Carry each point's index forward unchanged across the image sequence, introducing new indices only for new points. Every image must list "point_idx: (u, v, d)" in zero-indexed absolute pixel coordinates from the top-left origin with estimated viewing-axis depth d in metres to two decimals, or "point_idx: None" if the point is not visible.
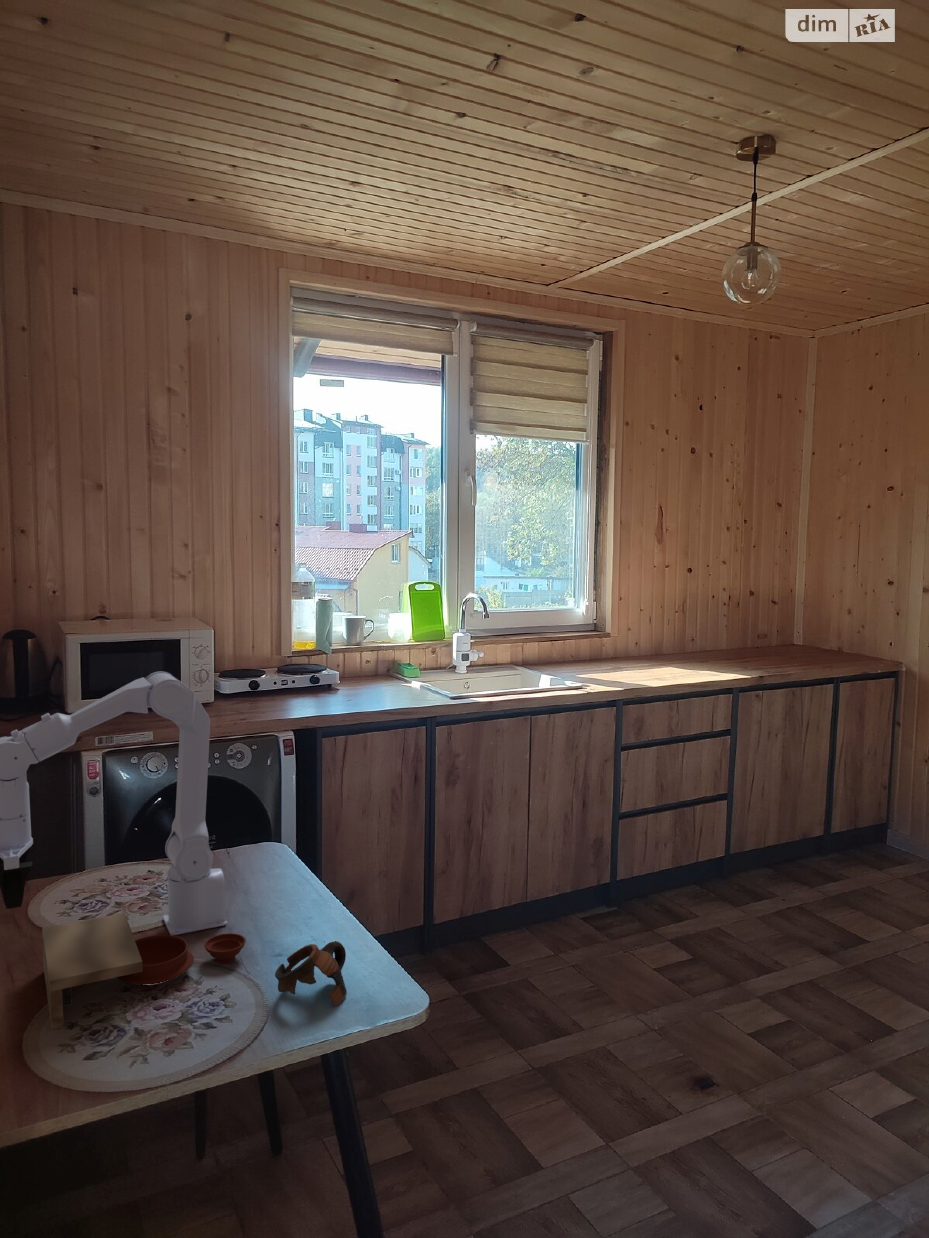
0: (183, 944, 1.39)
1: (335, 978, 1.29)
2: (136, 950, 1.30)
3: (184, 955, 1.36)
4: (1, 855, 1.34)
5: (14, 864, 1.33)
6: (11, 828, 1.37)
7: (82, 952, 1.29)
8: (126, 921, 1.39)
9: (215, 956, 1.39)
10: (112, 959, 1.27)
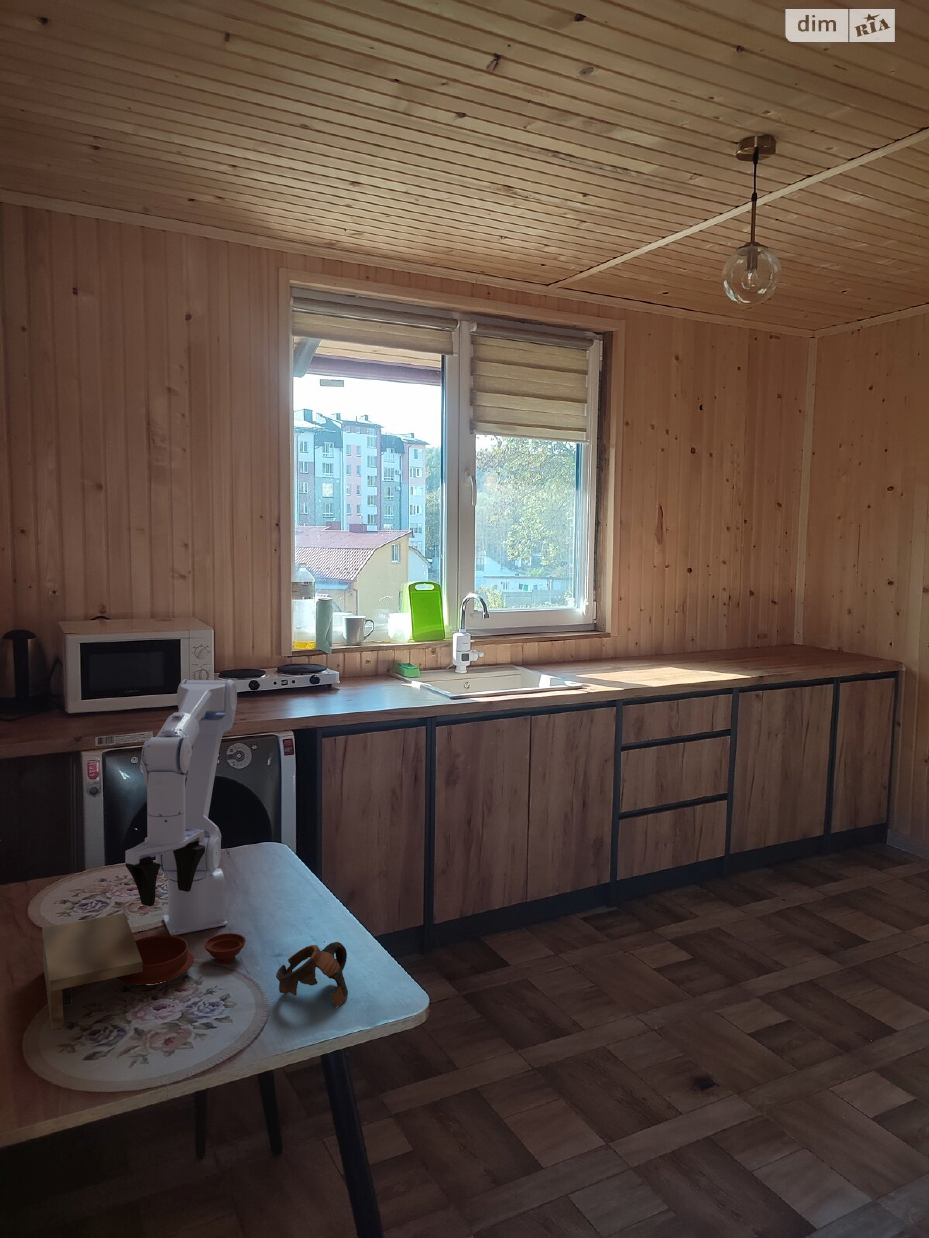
0: (183, 944, 1.39)
1: (336, 979, 1.29)
2: (136, 950, 1.30)
3: (184, 955, 1.36)
4: None
5: (131, 860, 1.34)
6: (153, 825, 1.38)
7: (82, 952, 1.29)
8: (126, 921, 1.39)
9: (215, 956, 1.40)
10: (112, 959, 1.27)
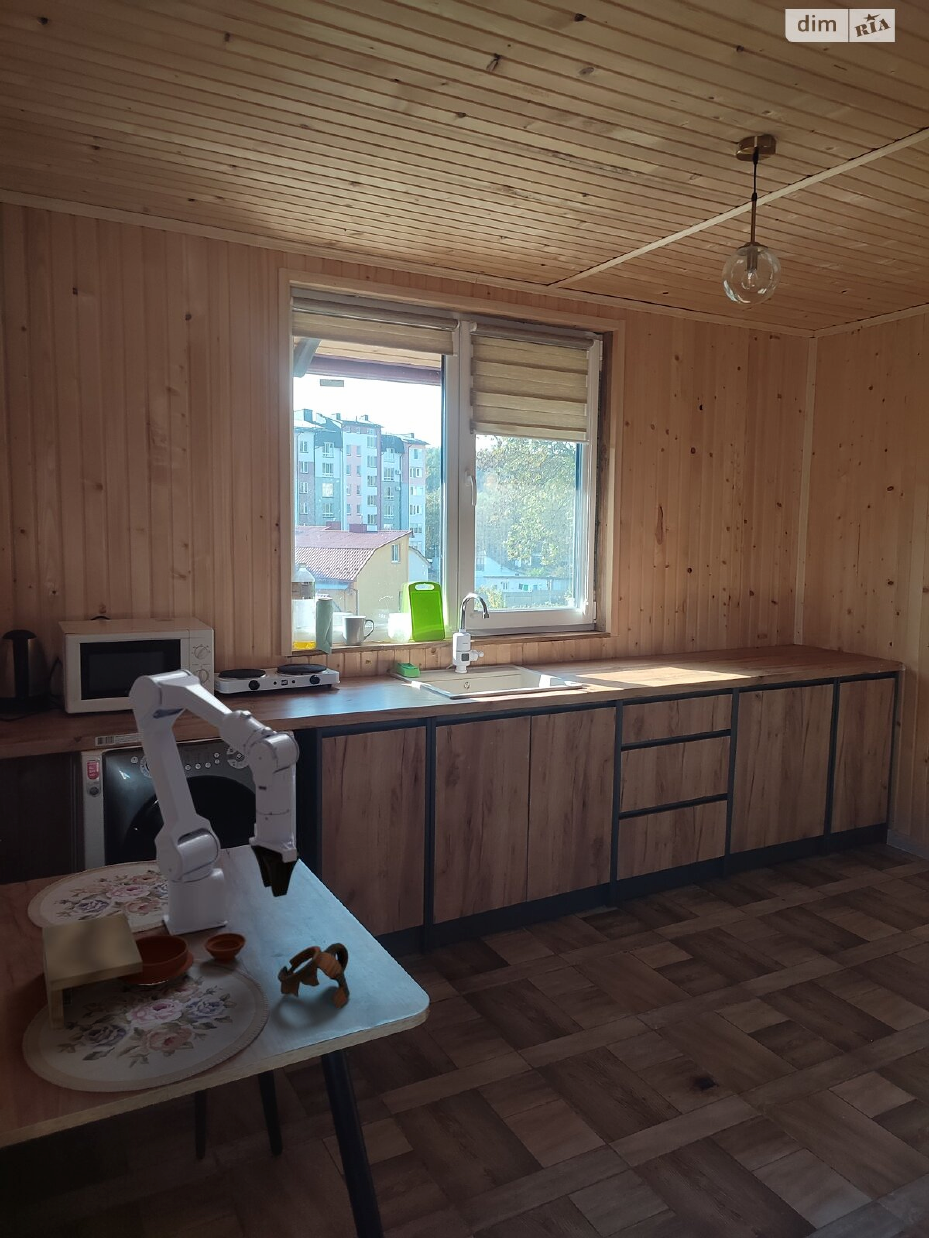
0: (183, 944, 1.39)
1: (338, 980, 1.29)
2: (136, 950, 1.30)
3: (185, 955, 1.36)
4: (278, 848, 1.38)
5: (293, 857, 1.38)
6: (281, 822, 1.41)
7: (82, 952, 1.29)
8: (126, 921, 1.39)
9: (215, 956, 1.40)
10: (112, 959, 1.27)
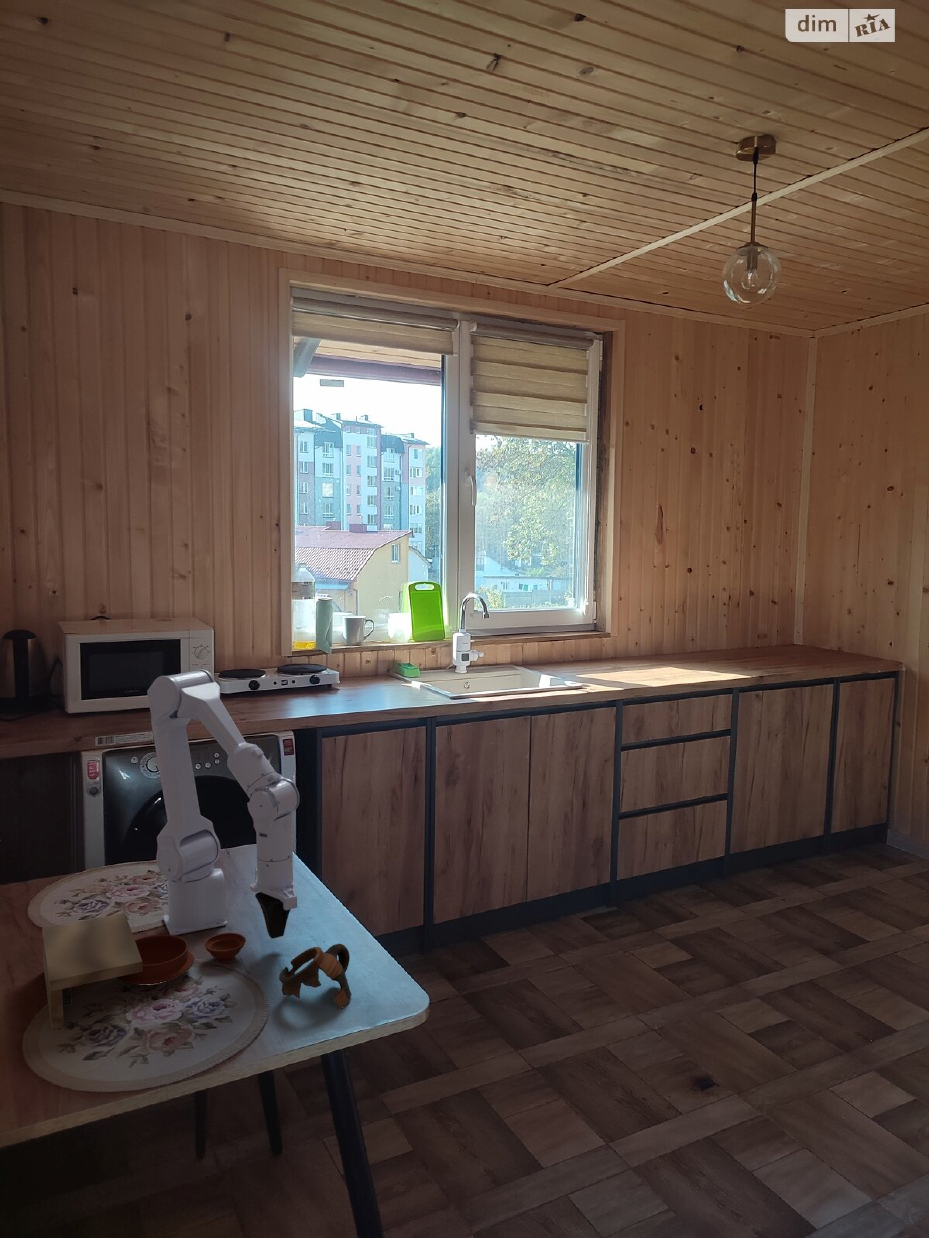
0: (183, 944, 1.39)
1: (340, 981, 1.28)
2: (136, 950, 1.30)
3: (185, 955, 1.36)
4: (278, 896, 1.39)
5: (293, 904, 1.39)
6: (281, 868, 1.42)
7: (82, 952, 1.29)
8: (126, 921, 1.39)
9: (215, 956, 1.40)
10: (112, 959, 1.27)
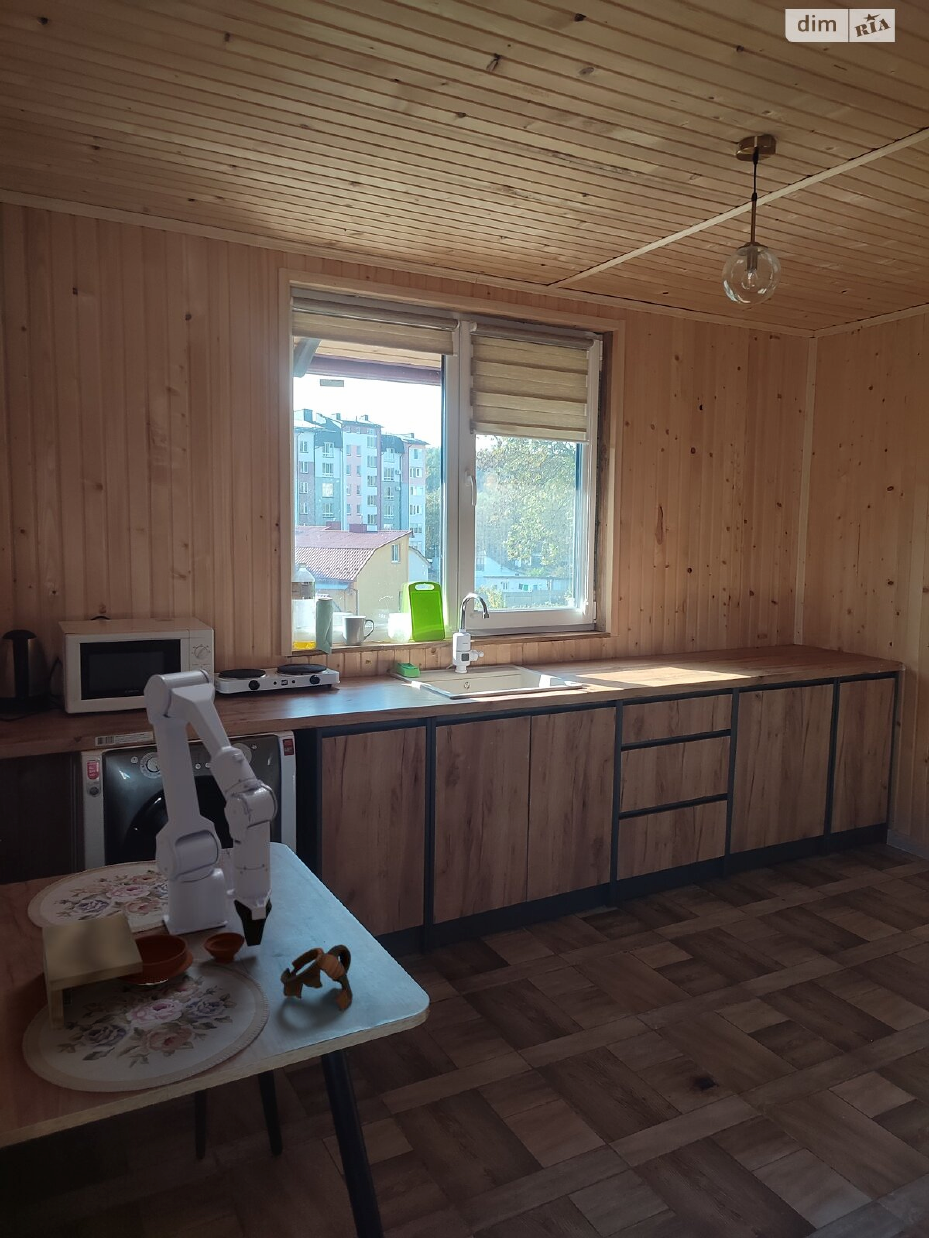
0: (182, 943, 1.39)
1: (341, 982, 1.28)
2: (136, 950, 1.30)
3: (184, 954, 1.36)
4: (248, 904, 1.37)
5: (261, 914, 1.36)
6: (255, 877, 1.40)
7: (82, 952, 1.29)
8: (126, 921, 1.39)
9: (214, 955, 1.40)
10: (112, 959, 1.27)
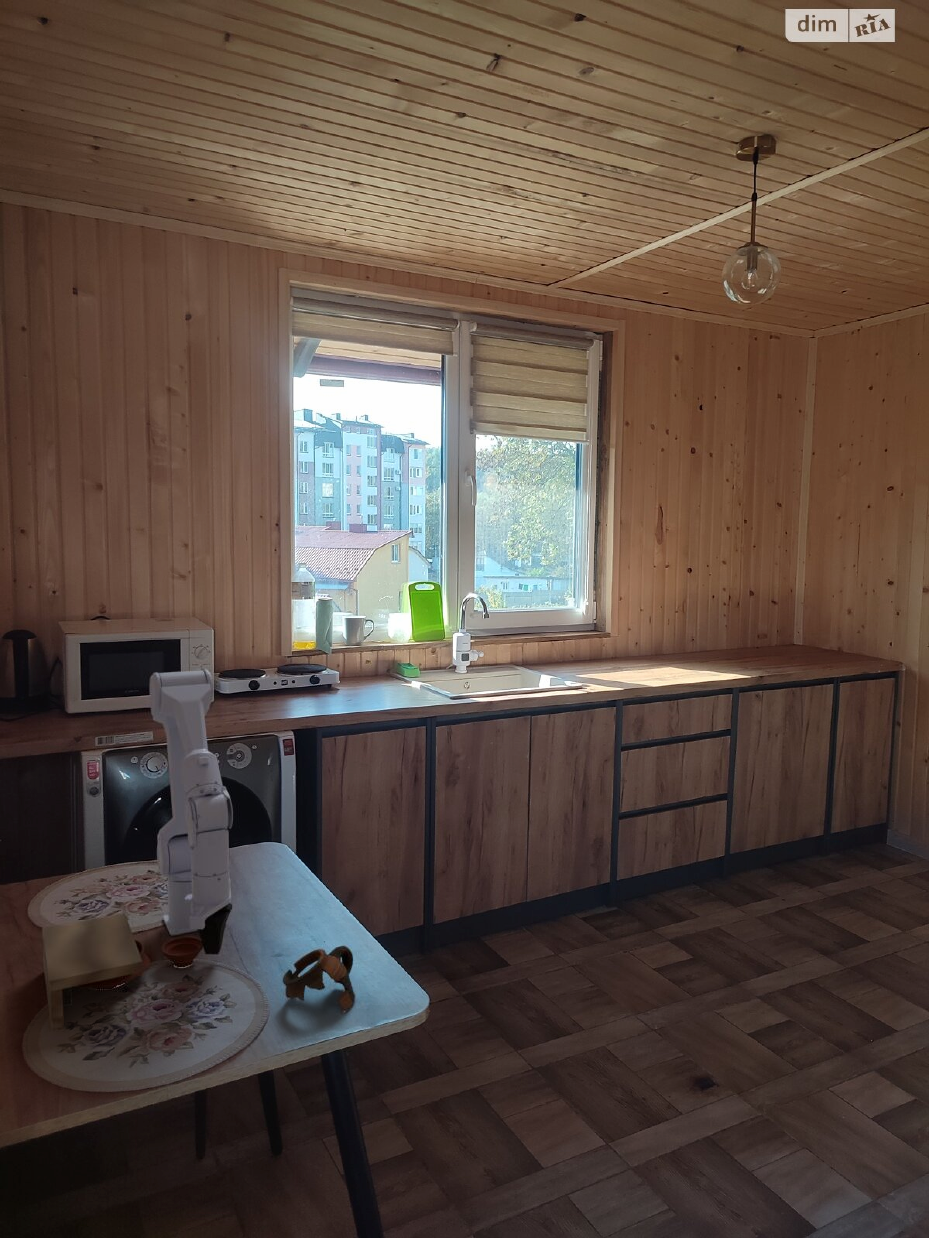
0: (139, 947, 1.37)
1: (344, 983, 1.28)
2: (136, 950, 1.30)
3: None
4: (191, 912, 1.34)
5: (199, 925, 1.33)
6: (205, 885, 1.36)
7: (82, 952, 1.29)
8: (126, 921, 1.39)
9: (172, 960, 1.38)
10: (112, 959, 1.27)
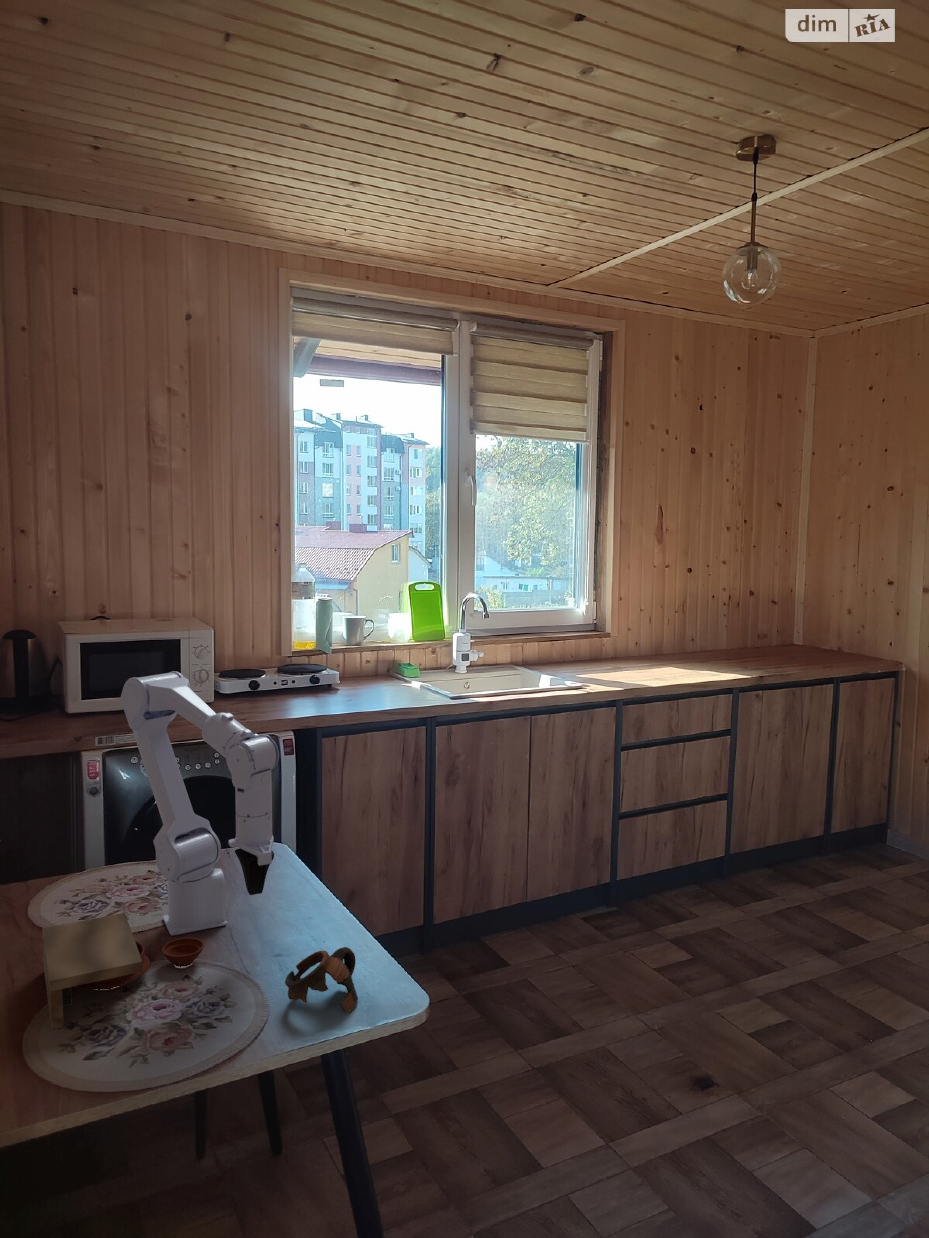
0: (140, 948, 1.37)
1: (347, 985, 1.27)
2: (136, 950, 1.30)
3: None
4: (253, 851, 1.39)
5: (268, 860, 1.38)
6: (259, 825, 1.41)
7: (82, 952, 1.29)
8: (126, 921, 1.39)
9: (172, 961, 1.38)
10: (112, 959, 1.27)
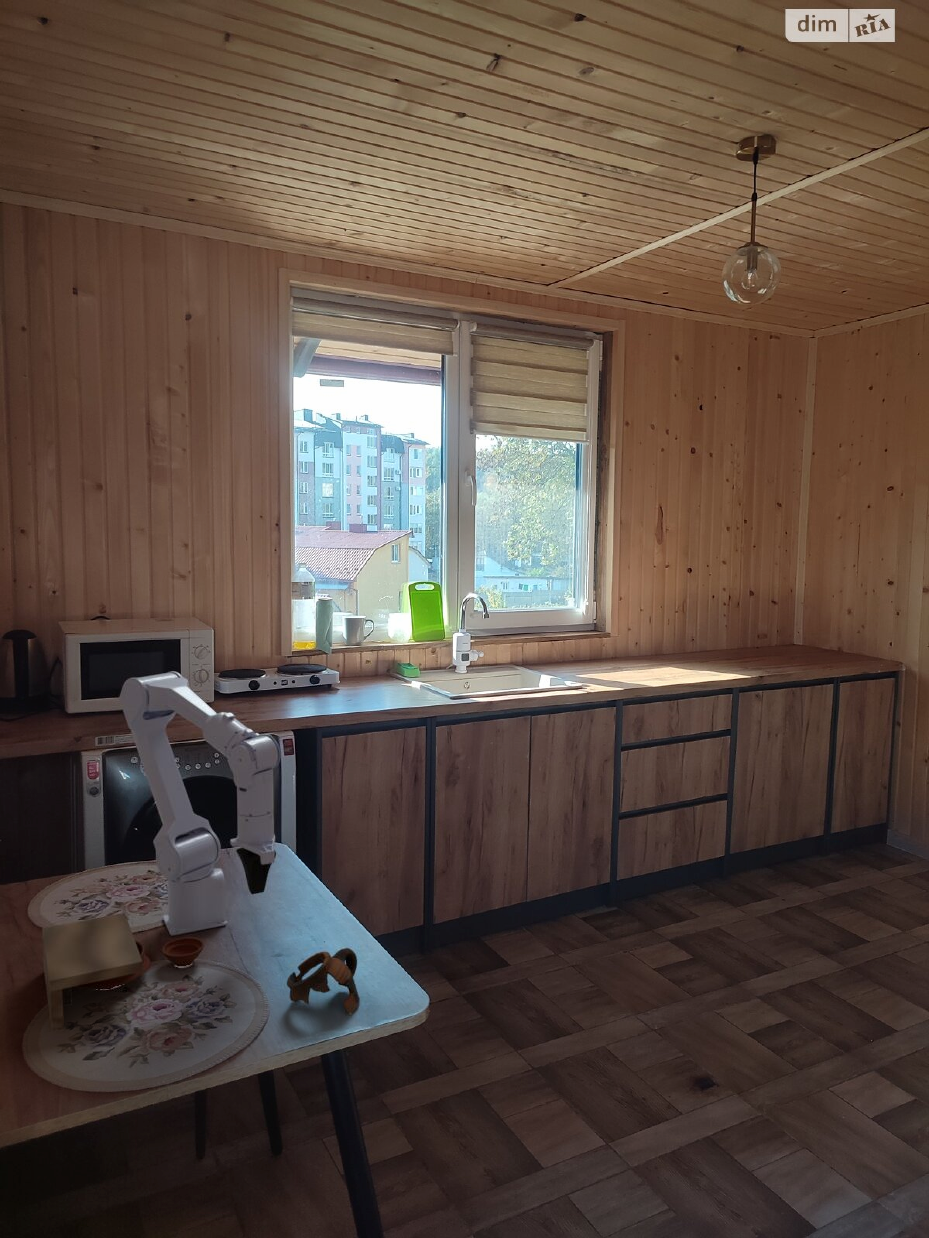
0: (140, 948, 1.37)
1: (349, 986, 1.27)
2: (136, 950, 1.30)
3: None
4: (256, 850, 1.39)
5: (270, 859, 1.38)
6: (261, 824, 1.42)
7: (82, 952, 1.29)
8: (126, 921, 1.39)
9: (172, 960, 1.38)
10: (112, 959, 1.27)
